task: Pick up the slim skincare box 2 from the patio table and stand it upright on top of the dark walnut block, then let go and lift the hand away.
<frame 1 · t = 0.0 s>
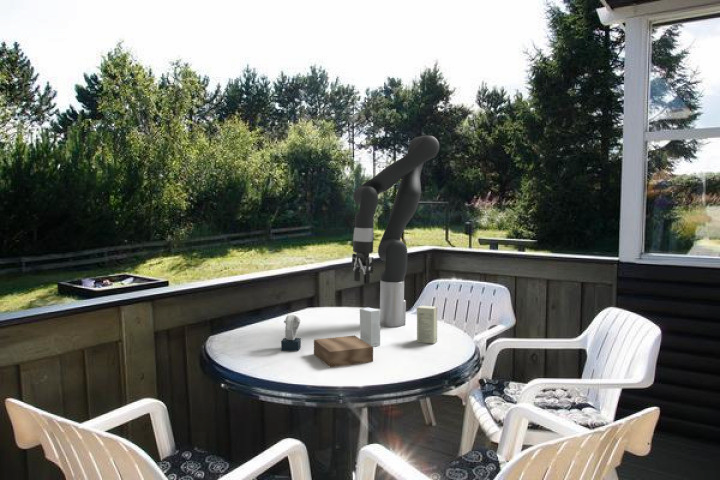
hand: (361, 282, 201), 17 cm above the table, tool pointing down, fingers open, 8 cm apart
skincare box: (426, 342, 185), on the table
white bust on pedestal: (290, 349, 174), on the table
walnut block: (342, 359, 165), on the table
skincare box 2: (369, 345, 180), on the table
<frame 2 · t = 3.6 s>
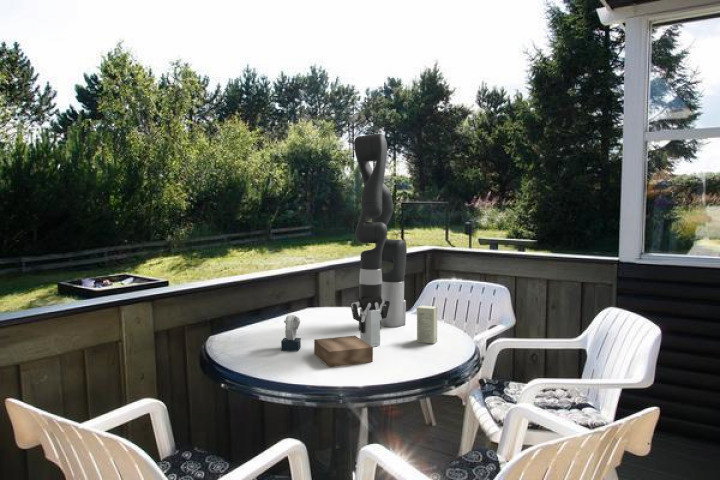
hand: (369, 331, 179), 4 cm above the table, tool pointing down, fingers closed on skincare box 2, 5 cm apart
skincare box 2: (369, 345, 180), on the table, touching gripper
everything else where it was.
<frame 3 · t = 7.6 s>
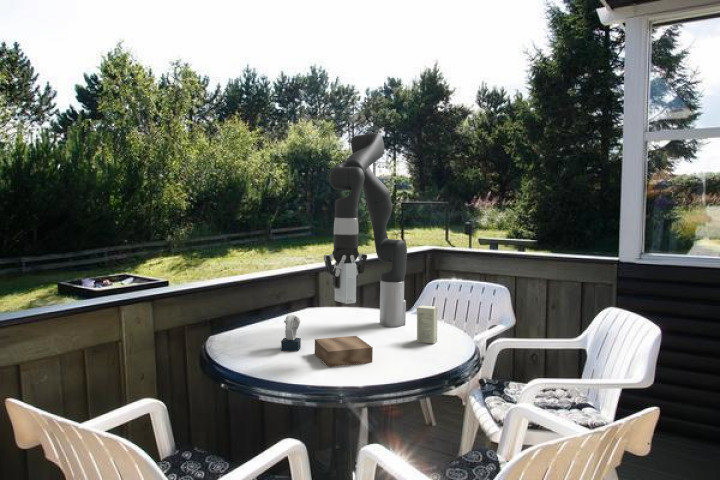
hand: (345, 287, 164), 22 cm above the table, tool pointing down, fingers closed on skincare box 2, 5 cm apart
skincare box 2: (344, 302, 164), point 17 cm above the table, touching gripper
everything else where it was.
when the fingers open (10 cm above the table, at t = 11.8 s): skincare box 2 stays where it is, resting on walnut block.
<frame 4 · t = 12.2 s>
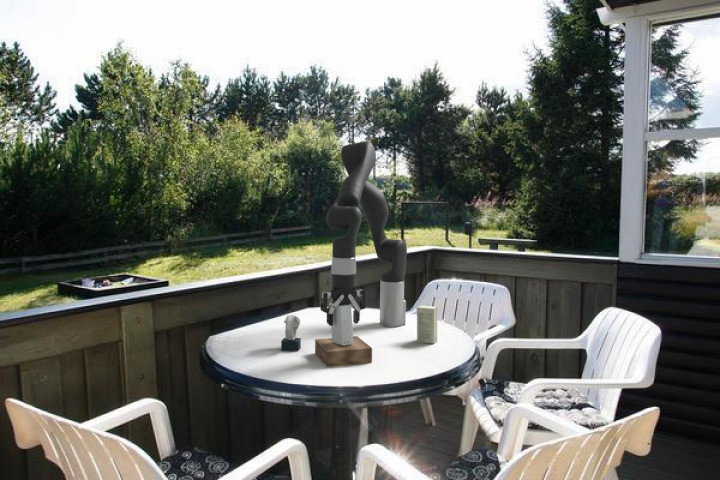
hand: (343, 324, 164), 11 cm above the table, tool pointing down, fingers open, 8 cm apart
walnut block: (342, 359, 165), on the table, touching skincare box 2
skincare box 2: (342, 343, 164), point 4 cm above the table, touching walnut block
everything else where it was.
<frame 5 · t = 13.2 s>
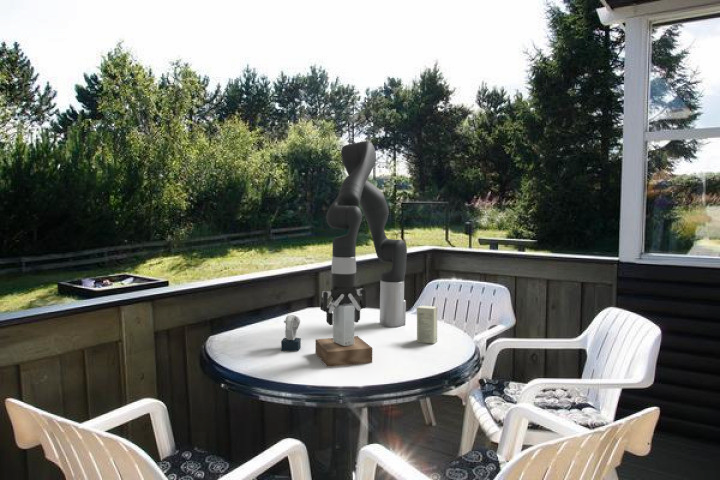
hand: (343, 323, 164), 11 cm above the table, tool pointing down, fingers open, 8 cm apart
walnut block: (343, 359, 165), on the table
skincare box 2: (342, 344, 165), point 4 cm above the table
everything else where it was.
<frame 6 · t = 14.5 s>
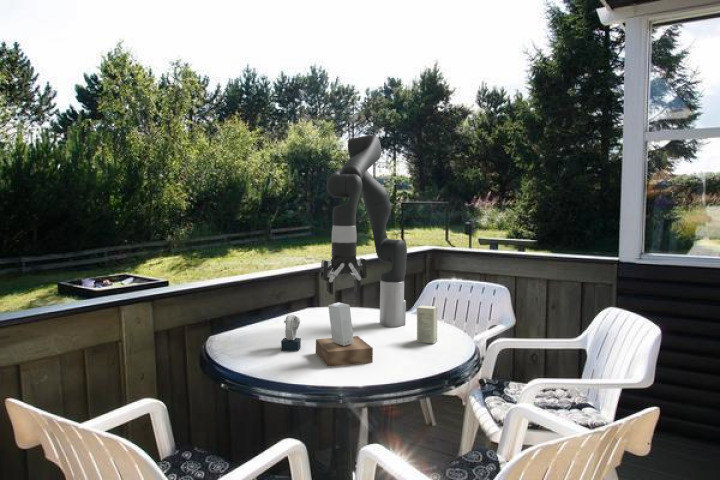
hand: (343, 293, 163), 20 cm above the table, tool pointing down, fingers open, 8 cm apart
walnut block: (343, 359, 165), on the table, touching skincare box 2
skincare box 2: (342, 343, 165), point 5 cm above the table, touching walnut block
everything else where it was.
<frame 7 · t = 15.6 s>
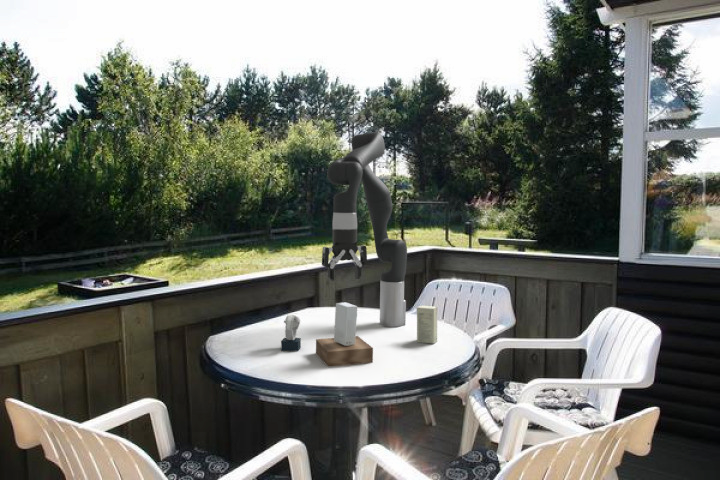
hand: (344, 279, 165), 24 cm above the table, tool pointing down, fingers open, 8 cm apart
walnut block: (343, 359, 165), on the table
skincare box 2: (343, 343, 164), point 4 cm above the table
everything else where it was.
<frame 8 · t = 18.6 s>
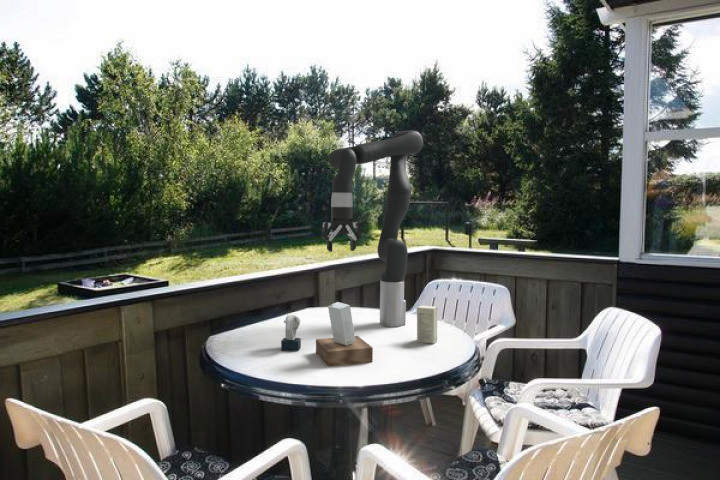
hand: (341, 251, 190), 30 cm above the table, tool pointing down, fingers open, 8 cm apart
walnut block: (343, 359, 165), on the table, touching skincare box 2
skincare box 2: (344, 342, 165), point 5 cm above the table, touching walnut block
everything else where it was.
at the end: skincare box 2 inside the target area on the walnut block (0.2 cm from its centre), point 5.2 cm above the walnut block's base; skincare box 2 tilted 11°; the gripper is holding nothing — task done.
